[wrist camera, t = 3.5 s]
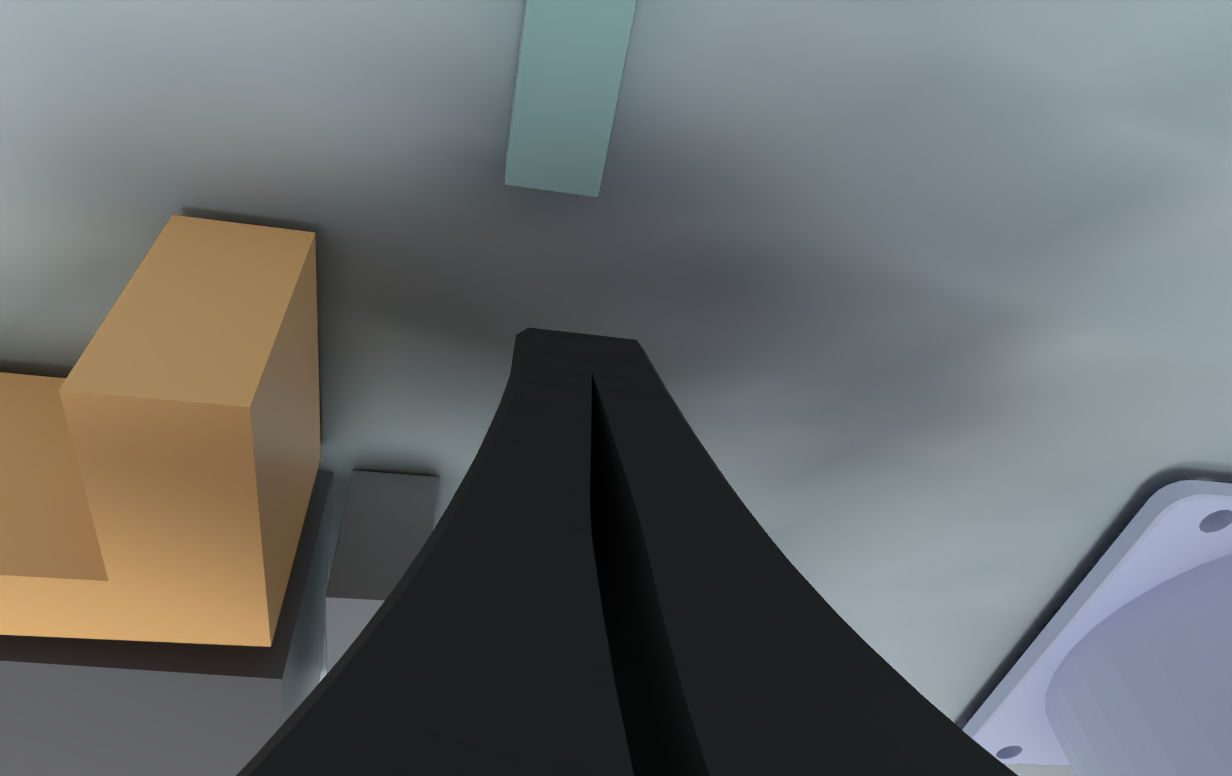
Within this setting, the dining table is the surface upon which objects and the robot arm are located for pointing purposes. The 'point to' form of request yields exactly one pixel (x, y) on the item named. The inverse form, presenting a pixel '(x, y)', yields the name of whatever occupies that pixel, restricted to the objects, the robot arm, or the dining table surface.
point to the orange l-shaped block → (169, 450)
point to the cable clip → (375, 549)
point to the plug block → (165, 687)
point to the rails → (566, 93)
